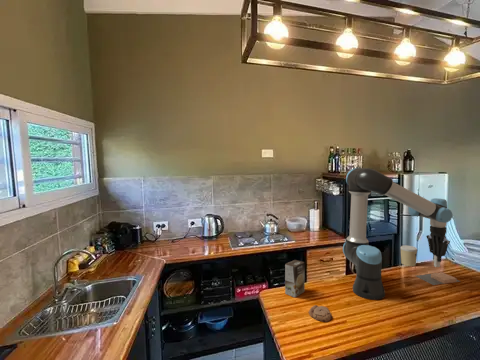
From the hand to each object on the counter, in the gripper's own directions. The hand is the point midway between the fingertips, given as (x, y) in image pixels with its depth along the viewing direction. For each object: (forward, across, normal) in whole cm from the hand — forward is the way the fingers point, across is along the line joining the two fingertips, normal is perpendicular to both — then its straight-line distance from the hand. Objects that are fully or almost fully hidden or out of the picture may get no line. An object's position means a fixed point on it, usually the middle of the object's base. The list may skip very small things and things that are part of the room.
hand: (437, 266), depth 153 cm
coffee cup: (+7, +20, 0) cm, 21 cm away
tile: (+5, 0, 0) cm, 5 cm away
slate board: (+7, -2, +2) cm, 8 cm away
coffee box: (+7, +4, +85) cm, 85 cm away
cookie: (+8, -18, +82) cm, 84 cm away
